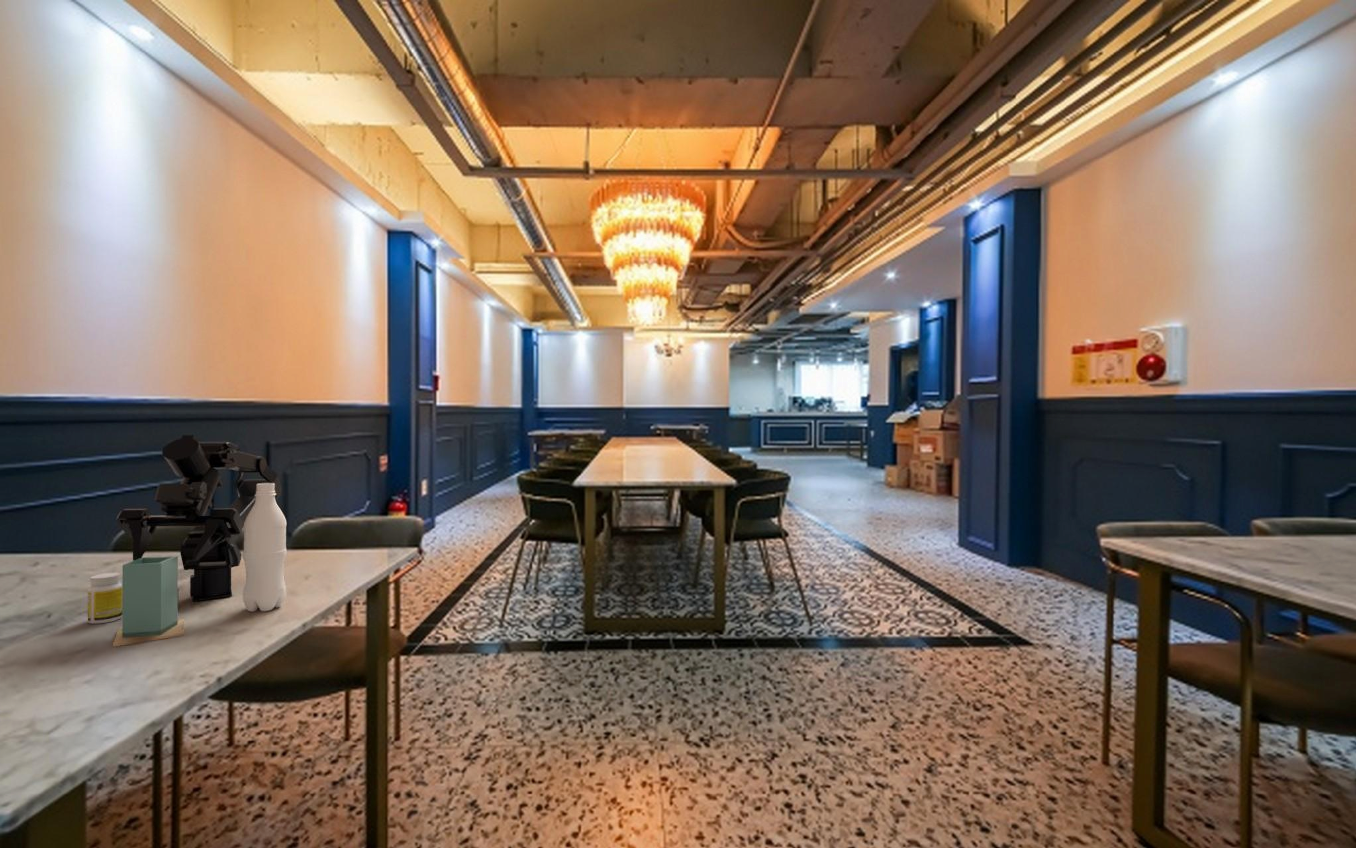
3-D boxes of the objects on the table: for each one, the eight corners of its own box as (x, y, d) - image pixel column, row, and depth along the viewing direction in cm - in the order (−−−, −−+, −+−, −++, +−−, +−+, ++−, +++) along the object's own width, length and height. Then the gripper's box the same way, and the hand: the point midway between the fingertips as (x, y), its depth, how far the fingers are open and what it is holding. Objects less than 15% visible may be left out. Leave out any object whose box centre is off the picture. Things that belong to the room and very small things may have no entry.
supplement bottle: (129, 616, 114) (129, 572, 114) (103, 625, 110) (103, 579, 110) (106, 615, 115) (107, 571, 115) (80, 623, 110) (80, 578, 110)
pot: (140, 627, 108) (141, 557, 108) (177, 624, 109) (177, 556, 109) (122, 638, 102) (122, 565, 102) (160, 635, 104) (161, 563, 104)
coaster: (184, 621, 112) (184, 619, 112) (183, 635, 105) (183, 633, 105) (118, 631, 106) (118, 629, 106) (113, 647, 99) (113, 644, 99)
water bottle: (264, 615, 116) (264, 486, 116) (233, 612, 118) (234, 485, 117) (294, 604, 123) (295, 482, 123) (265, 601, 125) (266, 481, 124)
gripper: (122, 466, 113) (82, 537, 102) (238, 467, 118) (211, 535, 108) (145, 501, 120) (110, 571, 110) (253, 500, 126) (229, 567, 115)
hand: (165, 560), depth 111 cm, fingers open, 9 cm apart
